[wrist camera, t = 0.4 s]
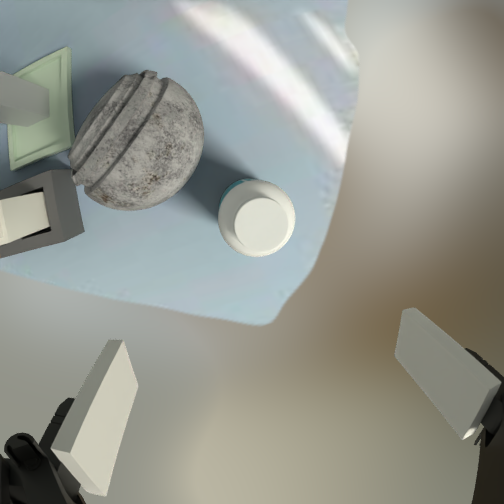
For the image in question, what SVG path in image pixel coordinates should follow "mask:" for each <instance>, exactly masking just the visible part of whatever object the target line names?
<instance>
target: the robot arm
mask: <svg viewBox="0 0 504 504" xmlns="http://www.w3.org/2000/svg"><path fill="white" fill-rule="evenodd" d="M394 356H395V357H396V359H397V360H398V361H399V362H400V363H401V365H402V366H403V367H404V368H405V369H406V371H407V372H408V373H409V374H410V375H411V377H412V378H413V379H414V380H415V382H416V383H417V384H418V385H419V386H420V388H421V389H422V390H423V391H424V393H425V394H426V395H427V396H428V398H429V399H430V400H431V401H432V402H433V404H434V405H435V406H436V407H437V409H438V410H439V411H440V413H441V414H442V415H443V416H444V417H445V419H446V420H447V421H448V423H449V424H450V425H451V427H452V428H453V429H454V430H455V432H456V433H457V434H458V435H459V437H460V438H461V439H462V440H463V439H465V438H466V437H468V436H470V435H472V434H473V433H475V431H476V430H477V428H478V426H479V425H480V423H482V425H483V426H484V428H483V430H482V431H481V433H480V434H479V436H478V438H477V439H476V441H475V444H474V445H477V443H478V442H479V440H480V439H481V443H480V455H479V464H478V471H477V478H476V484H475V490H474V495H473V500H472V504H504V377H503V376H502V375H501V374H500V373H499V372H498V371H496V370H495V369H494V368H493V367H492V366H491V365H488V363H487V362H486V361H485V360H483V358H482V357H480V356H479V355H478V354H477V353H476V352H474V351H472V350H470V349H467V348H465V349H464V348H462V346H460V345H459V344H458V343H457V342H456V341H455V340H453V339H452V338H451V337H450V336H449V335H447V334H446V333H445V332H444V331H443V330H442V329H440V328H439V327H438V326H437V325H436V324H434V323H433V322H432V321H431V320H429V319H428V318H427V317H426V316H424V315H423V314H422V313H421V312H420V311H418V310H417V309H416V308H410V309H406V310H403V311H402V318H401V324H400V329H399V334H398V340H397V344H396V350H395V354H394ZM137 389H138V383H137V380H136V377H135V374H134V371H133V369H132V366H131V362H130V360H129V356H128V353H127V350H126V347H125V343H124V340H108V342H107V344H106V345H105V347H104V349H103V350H102V352H101V354H100V355H99V357H98V359H97V361H96V362H95V364H94V366H93V368H92V369H91V371H90V373H89V375H88V376H87V378H86V380H85V382H84V384H83V385H82V387H81V389H80V391H79V393H78V395H77V396H76V398H75V399H74V398H67V399H66V400H65V401H64V402H63V403H61V404H60V405H59V407H58V409H57V411H56V413H55V416H53V418H52V420H51V423H50V424H49V426H48V427H47V429H46V431H45V433H44V435H43V437H42V439H41V441H40V443H39V445H38V444H37V442H36V441H35V439H34V438H33V437H32V436H31V435H29V434H26V433H17V434H15V435H13V436H11V437H10V438H9V439H8V440H7V442H6V444H5V447H4V452H5V453H6V454H7V455H8V457H9V458H10V459H8V458H3V457H2V455H1V454H0V504H86V503H85V501H84V499H83V497H82V496H81V494H80V493H79V488H80V485H81V486H82V487H83V488H84V489H85V490H86V491H87V492H88V493H92V494H97V495H102V496H106V494H107V490H108V487H109V483H110V479H111V475H112V472H113V468H114V464H115V461H116V457H117V454H118V450H119V446H120V443H121V440H122V436H123V433H124V429H125V426H126V423H127V420H128V417H129V414H130V410H131V407H132V404H133V401H134V398H135V395H136V392H137Z"/></svg>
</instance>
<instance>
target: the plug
mask: <svg viewBox="0 0 504 504" xmlns="http://www.w3.org/2000/svg"><path fill="white" fill-rule="evenodd" d="M48 117H50V110H49V89H47V88H44V87H42V86H39V85H37V84H34V83H31V82H29V81H26V80H24V79H21V78H18V77H16V76H13V75H10V74H8V73H5V72H2V71H0V123H3V124H10V125H17V126H24V127H29V126H31V125H33V124H35V123H37V122H39V121H41V120H44V119H46V118H48Z"/></svg>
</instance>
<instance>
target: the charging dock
mask: <svg viewBox="0 0 504 504" xmlns="http://www.w3.org/2000/svg"><path fill="white" fill-rule="evenodd" d="M71 172H72V169H58V170H49V171H46V172H44V173H41V174H38V175H36V176H33V177H31V178H28V179H26V180H24V181H21V182H19V183H17V184H14V185H12V186H10V187H8V188H5V189H3V190H1V191H0V258H3V257H7V256H11V255H14V254H18V253H22V252H26V251H29V250H33V249H37V248H41V247H45V246H49V245H53V244H57V243H61V242H65V241H67V240H69V239H71V238H73V237H75V236H77V235H79V234H81V233H83V232H85V231H84V227H83V222H82V218H81V213H80V208H79V203H78V198H77V192H76V186H75V183H74V182H73V180H72V178H71Z"/></svg>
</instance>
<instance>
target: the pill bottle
mask: <svg viewBox="0 0 504 504" xmlns="http://www.w3.org/2000/svg"><path fill="white" fill-rule="evenodd" d="M218 223H219V229H220V232H221V234H222V236H223V238H224V240H225V241H226V243H227V244H228V245H229V246H230V247H231V248H232V249H234V250H235V251H237V252H239V253H241V254H243V255H246V256H252V257H261V256H266V255H269V254H272V253H274V252H276V251H277V250H279V249H280V248H281V247H283V246H284V245H285V243H286V242H287V241H288V240H289V238H290V236H291V234H292V232H293V229H294V225H295V211H294V207H293V204H292V202H291V200H290V198H289V197H288V195H287V194H286V193H285V192H284V191H283V190H282V189H281V188H279V187H278V186H276V185H275V184H273V183H270V182H267V181H263V180H256V179H242V180H239V181H236V182H234V183H233V184H231V185H230V186H229V187H228V188H227V189H226V190H225V191H224V193H223V194H222V196H221V199H220V203H219V213H218Z"/></svg>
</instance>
